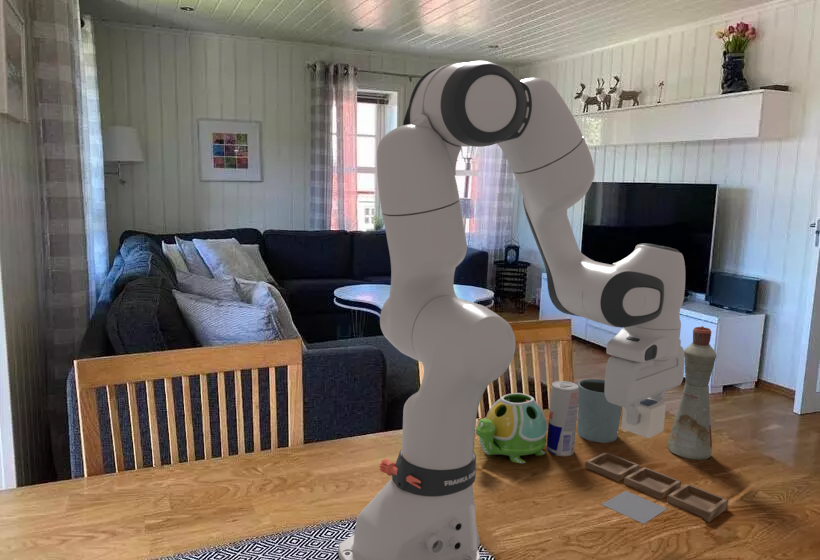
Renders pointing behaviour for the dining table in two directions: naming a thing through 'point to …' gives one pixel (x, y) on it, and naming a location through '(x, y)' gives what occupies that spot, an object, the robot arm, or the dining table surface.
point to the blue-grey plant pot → (596, 412)
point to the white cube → (647, 418)
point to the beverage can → (562, 418)
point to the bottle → (695, 401)
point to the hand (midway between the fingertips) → (642, 419)
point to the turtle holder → (513, 428)
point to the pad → (634, 507)
